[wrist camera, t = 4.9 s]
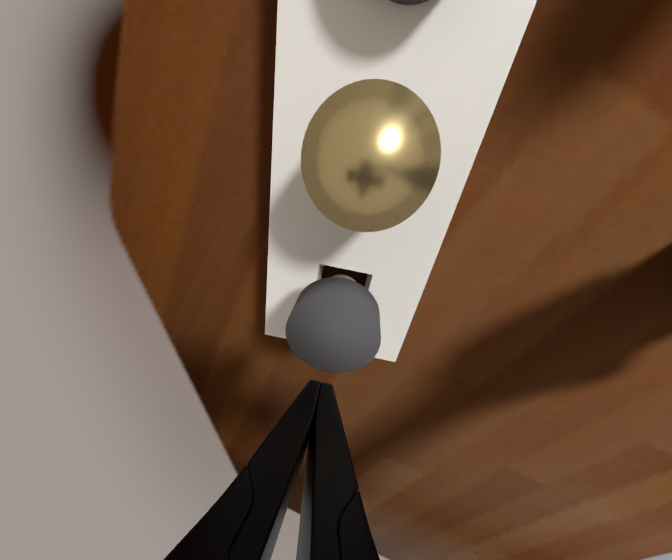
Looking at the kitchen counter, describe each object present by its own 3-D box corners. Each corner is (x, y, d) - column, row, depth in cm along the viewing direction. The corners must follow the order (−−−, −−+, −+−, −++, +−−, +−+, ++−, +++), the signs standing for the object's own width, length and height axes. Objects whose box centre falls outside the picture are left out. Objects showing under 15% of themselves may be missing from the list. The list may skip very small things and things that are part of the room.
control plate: (392, 335, 22) (395, 361, 19) (277, 311, 22) (264, 334, 19) (589, -217, 9) (680, -366, 6) (315, -259, 9) (294, -419, 7)
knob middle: (401, 214, 14) (414, 243, 10) (317, 197, 14) (295, 219, 10) (431, 112, 12) (465, 93, 8) (330, 93, 12) (309, 65, 8)
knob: (368, 326, 18) (368, 380, 14) (302, 312, 18) (282, 361, 14) (386, 265, 16) (392, 309, 11) (310, 250, 16) (289, 287, 12)
